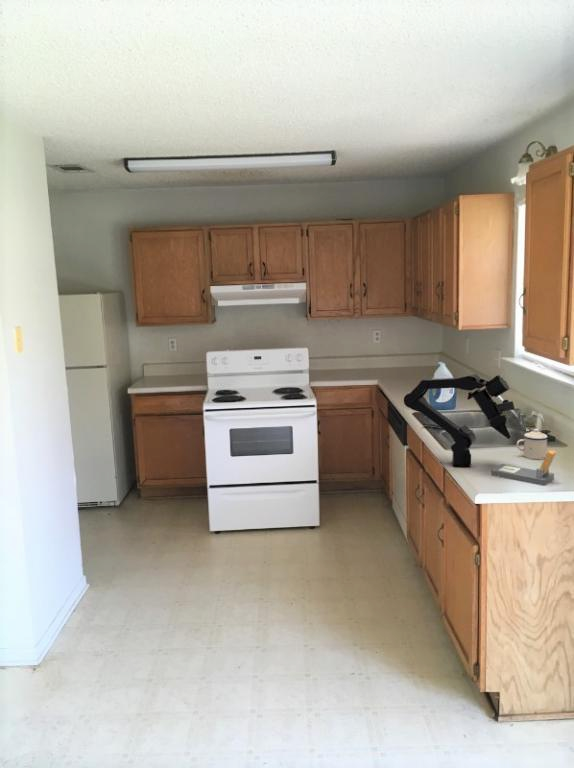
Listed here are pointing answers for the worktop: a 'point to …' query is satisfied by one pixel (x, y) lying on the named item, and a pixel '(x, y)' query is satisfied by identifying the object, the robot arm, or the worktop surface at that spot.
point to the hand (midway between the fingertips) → (509, 438)
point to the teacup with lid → (534, 445)
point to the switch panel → (523, 474)
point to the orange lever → (547, 461)
